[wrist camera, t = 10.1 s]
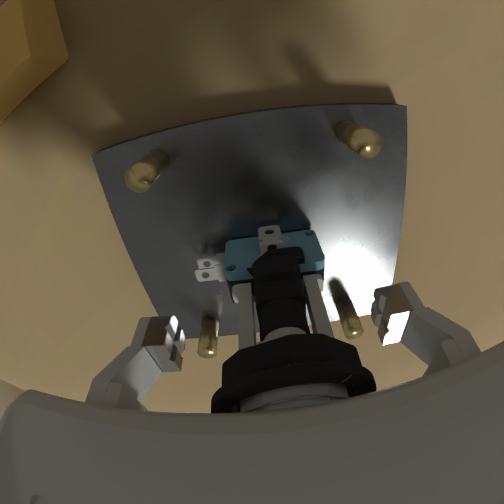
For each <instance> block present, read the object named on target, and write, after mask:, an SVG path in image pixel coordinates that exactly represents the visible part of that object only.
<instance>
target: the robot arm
mask: <svg viewBox="0 0 504 504" xmlns="http://www.w3.org/2000/svg"><path fill="white" fill-rule="evenodd" d="M373 297H374V299H375V300H374V301H373V302H372V304H371V317H372V321H373V323H374V325H375V326H377V327H378V328H379V329H378V335H379V338H380V340H381V343H382V345H386V344H390V343H395V342H399V341H401V343H402V344H403V345H405V346H406V347H407V348H408V349H409V350H411V351H412V352H413V353H414V354H415V355H417V356H418V357H419V358H420V359H421V360H422V361H424V362H425V363H426V364H427V365H428V366H429V367H428V368H427V370H426V372H425V373H424V375H423V377H421V378H418V379H415V380H412V381H409V382H406V383H402V384H399V385H396V386H393V387H389V388H386V389H382V390H378V391H375V392H371V393H367V394H363V395H359V396H354V397H350V398H345V399H340V400H335V401H330V402H325V403H319V404H313V405H307V406H300V407H293V408H285V409H276V410H266V411H254V412H239V413H169V412H153V411H148V410H147V409H146V408H145V407H144V406H143V405H142V404H141V403H140V402H141V401H142V399H143V398H144V397H145V395H146V394H147V393H148V392H149V390H150V389H151V388H152V386H153V385H154V384H155V382H156V381H157V380H158V379H159V377H160V376H161V375H162V373H163V372H175V371H181V367H182V361H183V358H182V356H181V353H182V352H183V351H184V350H185V336H184V333H183V330H182V329H181V328H180V327H178V326H177V325H178V321H177V319H176V317H175V316H159V317H142V318H141V319H140V320H139V323H138V325H137V328H136V331H135V334H134V337H133V340H132V343H131V346H130V347H127V348H125V349H124V350H123V351H122V352H121V353H120V354H119V355H118V356H117V357H116V358H115V359H114V360H113V361H112V362H110V363H109V364H108V365H107V366H106V367H105V368H104V369H103V370H102V371H101V372H100V373H99V374H98V375H97V376H96V377H95V378H94V379H93V380H92V383H91V386H90V389H89V392H88V395H87V398H86V401H85V402H81V401H76V400H71V399H67V398H62V397H58V396H54V395H50V394H47V393H43V392H40V391H36V390H32V389H30V390H27V391H25V392H24V393H23V394H21V395H20V396H19V397H18V398H17V399H15V400H14V401H13V402H12V403H11V404H10V405H9V406H8V407H7V409H6V410H5V412H4V414H3V416H2V418H1V420H0V504H504V341H503V342H501V343H499V344H497V345H495V346H493V347H491V348H489V349H487V350H485V351H483V352H481V351H480V349H479V348H478V346H477V344H476V342H475V340H474V339H473V337H472V335H471V334H470V332H469V331H468V330H467V329H465V328H463V327H462V326H460V325H458V324H456V323H455V322H453V321H451V320H450V319H448V318H446V317H444V316H443V315H441V314H439V313H438V312H436V311H434V310H432V309H431V308H429V307H424V305H423V304H422V302H421V300H420V299H419V297H418V295H417V294H416V292H415V291H414V289H413V288H412V286H411V285H410V283H409V282H402V283H398V284H393V285H389V286H384V287H379V288H375V290H374V293H373Z"/></svg>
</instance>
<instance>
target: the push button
mask: <svg viewBox="0 0 504 504" xmlns="http://www.w3.org/2000/svg"><path fill="white" fill-rule="evenodd" d="M267 230H273V231H274V233H272V234H265V231H267ZM258 235H259V236H258V237H250V238H242V239H235V240H230V241H228V242H226V245H225V253H218V254H216V256H213V257H206V258H198V259H197V263H198V266H199V269H196V270H195V275H196V277H197V280H198V281H199V282H203V281H212V280H219V282H222V281H227V284H228V288H229V291H230V295H231V299H232V302H233V303H236V304H238V328H239V350H238V351H237V352H236V353H235V354H234V355H232V356H231V357H230V358H229V359H228V360H226V361H225V362H224V363H223V366H222V387H221V388H219V389H218V390H217V391H216V392H215V394H214V395H213V397H212V400H211V413H239V412H254V411H266V410H276V409H285V408H293V407H300V406H307V405H313V404H319V403H325V402H330V401H335V400H340V399H345V398H350V397H354V396H359V395H363V394H367V393H371V392H375V391H376V383H375V380H374V377H373V375H372V373H371V372H370V371H369V370H368V369H366V368H365V367H362V364H361V361H360V358H359V355H358V352H357V349H356V347H355V346H353V345H351V344H348V343H345V342H343V341H340V340H338V339H335V338H334V335H333V331H332V328H331V324H330V321H329V318H328V314H327V311H326V307H325V304H324V301H323V298H322V294H321V292H322V291H323V287H324V269H325V265H324V264H325V255H324V253H323V251H322V248H321V246H320V243H319V241H318V238H317V235H316V233H315V232H314V231H313V230H301V231H298V232H289V233H281V231H280V227H279V226H277V225H272V226H264V227H260V228H259V229H258ZM205 261H209V262H210V263H211V265H210V266H205V265H204V264H203V263H204V262H205ZM204 272H207V273H209V277H203V276H202V273H204ZM254 302H255V303H256V311H257V316H258V322H259V329H260V341H261V342H258V343H257V344H256V331H255V314H254ZM306 305H307V309H308V313H309V317H310V321H311V326H312V330H313V334H310V330H309V326H308V321H307V317H306Z"/></svg>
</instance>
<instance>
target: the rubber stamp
mask: <svg viewBox="0 0 504 504" xmlns="http://www.w3.org/2000/svg"><path fill="white" fill-rule="evenodd" d="M68 58H69V54H68V51H67V48H66V44H65V41H64V37H63V34H62V30H61V26H60V23H59V19H58V15H57V11H56V6H55V2H54V0H6V1H5V3H4V4H3V5H2V6H1V7H0V124H1V123H2V122H3V121H4V120H5V119H6V118H7V116H8V115H9V114H10V113H11V112H12V111H13V110H14V109H15V108H16V107H17V106H18V105H19V104H20V103H21V102H22V101H23V100H24V99H25V98H26V97H27V96H28V95H29V94H30V93H31V92H32V91H33V90H34V89H35V88H36V87H37V86H39V85H40V84H41V83H42V82H43V81H44V80H45V79H46V78H48V77H49V76H50V75H51V74H52V73H54V72H55V71H56V70H57V69H58V68H60V67H61V66H62V65H63V64H64V63H65V62H66V61H67V60H68Z"/></svg>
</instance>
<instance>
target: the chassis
mask: <svg viewBox="0 0 504 504" xmlns="http://www.w3.org/2000/svg"><path fill="white" fill-rule="evenodd" d="M92 157H93V160H94V163H95V167H96V170H97V173H98V176H99V179H100V182H101V185H102V187H103V190H104V193H105V196H106V199H107V201H108V204H109V207H110V209H111V212H112V215H113V217H114V220H115V222H116V225H117V227H118V230H119V232H120V235H121V237H122V239H123V242H124V244H125V246H126V249H127V251H128V253H129V256H130V258H131V260H132V262H133V264H134V267H135V269H136V271H137V273H138V275H139V277H140V279H141V282H142V284H143V286H144V288H145V290H146V292H147V294H148V296H149V298H150V300H151V302H152V304H153V306H154V308H155V309H156V311H157V313H158V315H159V316H175V317H176V319H177V321H178V325H177V326H178V327H180V328H181V329H182V330H183V333H184V336H185V339H187V338H199V344H198V351H197V353H198V355H199V356H201V357H203V358H213V357H215V356H216V354H217V341H218V336H226V335H236V334H239V328H238V304H236V303H233V302H232V299H231V295H230V291H229V288H228V284H227V281H222V282H219V280H212V281H203V282H199V281H198V280H197V277H196V275H195V270H196V269H199V266H198V263H197V259H198V258H206V257H213V256H216V254H218V253H225V245H226V242H228V241H230V240H235V239H242V238H250V237H258V236H259V235H258V229H259V228H260V227H264V226H272V225H277V226H279V227H280V231H281V233H289V232H298V231H301V230H313V231H314V232H315V233H316V235H317V238H318V241H319V243H320V246H321V248H322V251H323V253H324V255H325V264H324V265H325V269H324V287H323V291H322V292H321V294H322V298H323V301H324V304H325V307H326V311H327V314H328V318H329V321H330V322H331V321H336V320H340V322H341V325H342V328H343V331H344V334H345V337H346V338H347V339H349V340H352V339H356V338H358V337H360V336H361V335H362V334H363V328H362V325H361V322H360V320H359V317H358V316H362V315H367V314H371V304H372V302H373V301H374V300H375V299H374V297H373V293H374V290H375V288H379V287H384V286H389V285H392V281H393V276H394V270H395V265H396V259H397V253H398V247H399V241H400V233H401V226H402V218H403V208H404V198H405V185H406V168H407V107H406V106H404V105H399V104H384V103H336V104H316V105H302V106H291V107H281V108H272V109H264V110H257V111H250V112H244V113H238V114H232V115H226V116H221V117H216V118H211V119H206V120H201V121H197V122H192V123H188V124H184V125H180V126H176V127H172V128H168V129H164V130H161V131H157V132H154V133H150V134H147V135H143V136H140V137H137V138H134V139H131V140H128V141H125V142H122V143H119V144H116V145H113V146H110V147H107V148H104V149H102V150H99V151H98V152H96V153H94V154H92ZM272 233H274V231H273V230H267V231H265V234H272ZM203 264H204V265H205V266H210V265H211V263H210V262H209V261H205V262H204V263H203ZM202 276H203V277H209V273H207V272H204V273H202ZM254 314H255V331H256V332H260V329H259V322H258V316H257V311H256V303H255V302H254ZM306 317H307V321H308V325H311V321H310V317H309V313H308V309H307V305H306Z"/></svg>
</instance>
